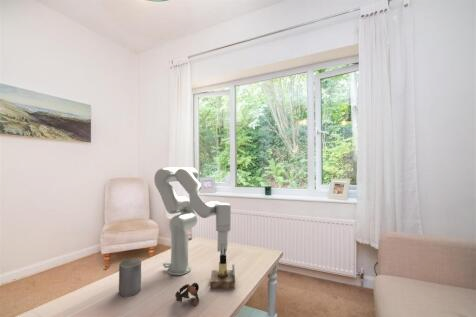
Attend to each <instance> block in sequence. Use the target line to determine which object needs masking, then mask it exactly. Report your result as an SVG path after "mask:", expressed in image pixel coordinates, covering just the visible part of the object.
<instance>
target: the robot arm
mask: <svg viewBox="0 0 476 317" xmlns="http://www.w3.org/2000/svg"><path fill="white" fill-rule="evenodd" d="M198 178H199V173H198V171H197V169H196V168H195V167H189V166H188V167H163V168H159V169H158V170H156V172H155V174H154V180H153V182H154V185H155V188H156V189H157V190H158V193H159V195H160V197H161V200H162V203H163V206H164V209H165V210H166V212H167V213H168V214H170V215H173V214H174V216H173V217H171V219H170V220H169V230H170V262H163V263H162V266H163V267H164V268H165V269H167V273H168V274H169V275H171V276H183V275H186V274H189V272H191V269H192V266H190V264H189V235H188V233H187V230H190V229H191V228H194V227H195V226H196V225H197V224H198V223H197V222H198V217H197V216H199V217H200V218H202V219H207V218H211V217H213V216H215V231H216V232H217V248H216V249H217V252H220V254H219V262H220V264H226V262H227V251H228V244H229V243H228V242H229V232H230V231H231V222H232V221H231V217H232V216H231V214H232V213H231V212H232V211H231V208H232V206H231V204H230V203H229V202H221V201H216V200H211V201H207V202H205V201H204V200H203V199H202V198H201V196H200V194H199V192H200V191H201V190H202V184H201V183H200V181H198ZM170 182H171V183H172V182H178V183H179V184H180V186H182V188H183V189H184V190H185V192H186V193H187V194H188V197H187V196H184V195H178V194H177V193H176V190H175V188H174V186H173V185H172V184H170ZM179 213H180V214H179ZM175 214H176V215H175Z"/></svg>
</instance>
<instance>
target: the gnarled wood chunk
mask: <svg viewBox="0 0 476 317" xmlns="http://www.w3.org/2000/svg"><path fill="white" fill-rule="evenodd" d="M199 288H200V286H199V284H198V282H193V283H192V284H191V285H190V283H188V284H187V283H186V284H185V285H183V286H181V287H180V288H179V291H178V290H177V291H176V293H175V301H176V302H177V303H178V302H180V303H183V299H188V300H189V299H190V295H189V293H190V294H191V296H194V298H195V300H194V301H193V304H194V307H197V306H198V304H199V302H200V298H199V295H198V292H199Z"/></svg>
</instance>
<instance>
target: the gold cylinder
mask: <svg viewBox="0 0 476 317" xmlns="http://www.w3.org/2000/svg"><path fill="white" fill-rule="evenodd" d="M227 264H228V262H227V261H226V264H220V261H219V262H218V270H219V278H226V277H227V270H228V269H227V266H228V265H227Z"/></svg>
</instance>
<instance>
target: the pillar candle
mask: <svg viewBox="0 0 476 317" xmlns="http://www.w3.org/2000/svg"><path fill="white" fill-rule="evenodd" d="M118 267H119V268H118V295H119V296H120V297H122V298H123V297H124V298H125V297H127V298H128V297H131V296H135V295H137V294H138V293H139V292H141V289H142V259H140V258H127V259H124V260H122V261H120V263H119V265H118Z"/></svg>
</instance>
